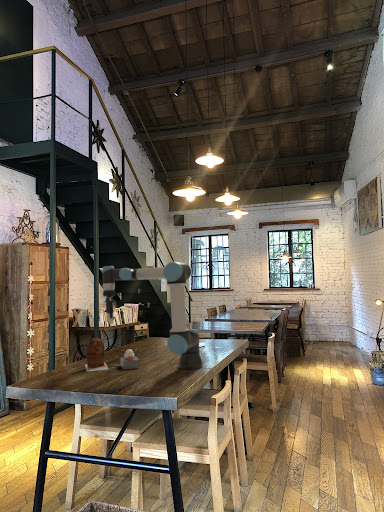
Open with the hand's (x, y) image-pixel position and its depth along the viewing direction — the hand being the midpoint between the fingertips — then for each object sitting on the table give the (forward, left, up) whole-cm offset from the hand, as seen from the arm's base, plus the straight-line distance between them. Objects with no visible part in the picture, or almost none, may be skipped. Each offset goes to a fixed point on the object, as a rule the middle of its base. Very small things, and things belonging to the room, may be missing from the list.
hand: (109, 323), depth 243 cm
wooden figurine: (+3, +9, -28) cm, 29 cm away
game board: (+3, +9, -28) cm, 29 cm away
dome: (-5, -11, -22) cm, 26 cm away
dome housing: (-6, -11, -28) cm, 30 cm away
